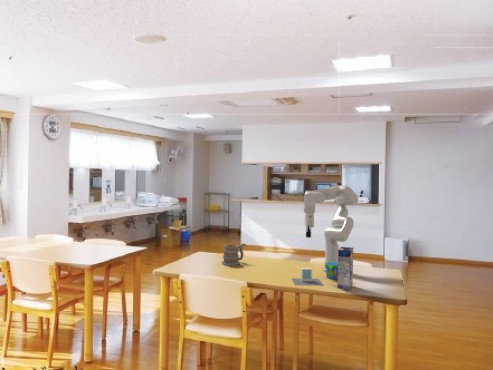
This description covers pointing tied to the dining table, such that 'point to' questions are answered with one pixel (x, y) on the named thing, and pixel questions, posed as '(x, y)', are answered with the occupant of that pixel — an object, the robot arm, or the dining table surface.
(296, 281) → the mat
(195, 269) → the dining table surface
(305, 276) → the tile
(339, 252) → the juice carton
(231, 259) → the tankard
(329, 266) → the snack cup
